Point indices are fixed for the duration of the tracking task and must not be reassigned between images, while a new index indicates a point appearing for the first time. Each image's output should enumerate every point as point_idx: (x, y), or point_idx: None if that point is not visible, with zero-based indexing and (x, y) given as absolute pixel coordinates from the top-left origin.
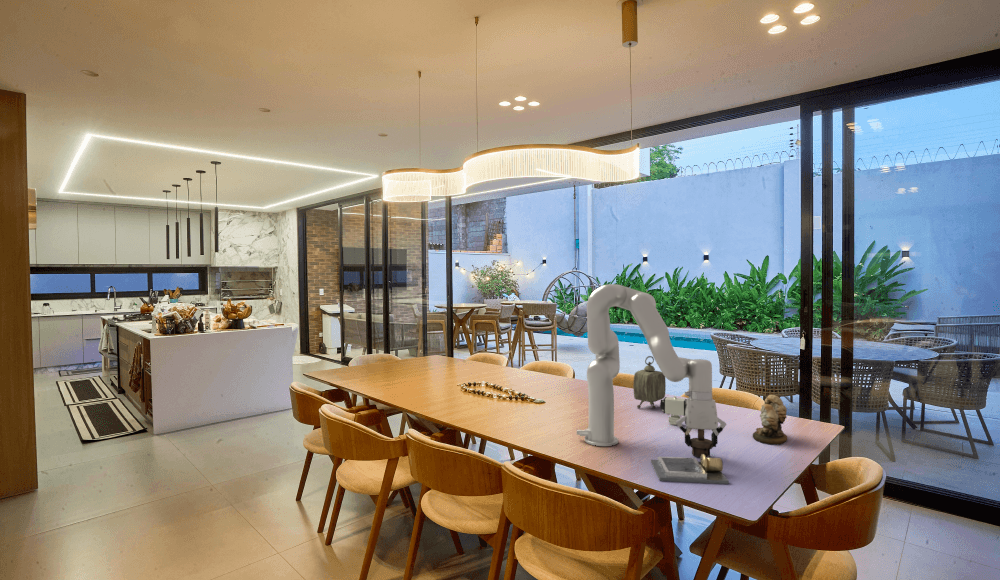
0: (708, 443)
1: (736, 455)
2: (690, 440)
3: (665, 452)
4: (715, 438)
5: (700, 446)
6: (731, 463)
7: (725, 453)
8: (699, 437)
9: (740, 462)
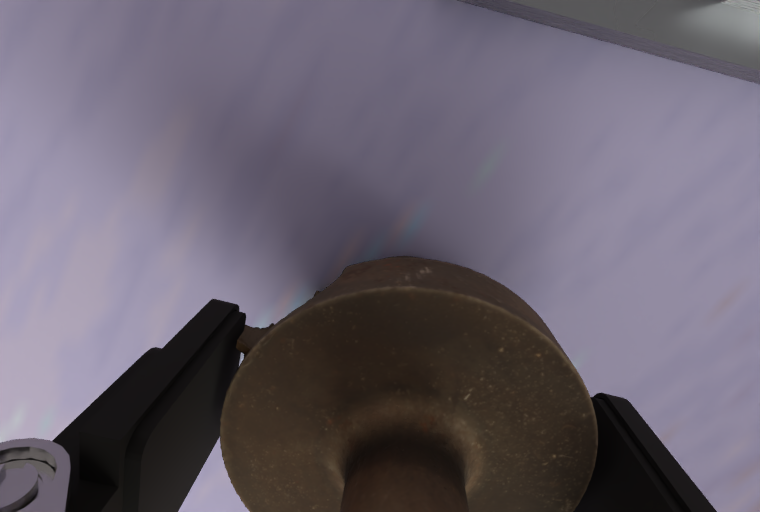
0: (348, 313)
1: (18, 285)
2: (577, 501)
3: (709, 462)
4: (138, 387)
5: (508, 294)
6: (164, 36)
7: (113, 352)
8: (463, 504)
9: (40, 58)
